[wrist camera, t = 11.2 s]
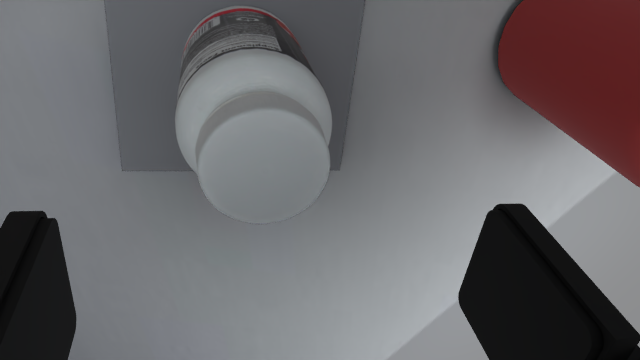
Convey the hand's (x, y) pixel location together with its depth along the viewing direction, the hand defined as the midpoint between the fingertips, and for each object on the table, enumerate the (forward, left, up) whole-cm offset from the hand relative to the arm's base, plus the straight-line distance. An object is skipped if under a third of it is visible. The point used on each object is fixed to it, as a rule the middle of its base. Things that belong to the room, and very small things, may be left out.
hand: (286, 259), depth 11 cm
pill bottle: (0, 0, -14) cm, 14 cm away
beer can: (-16, -1, -15) cm, 22 cm away
